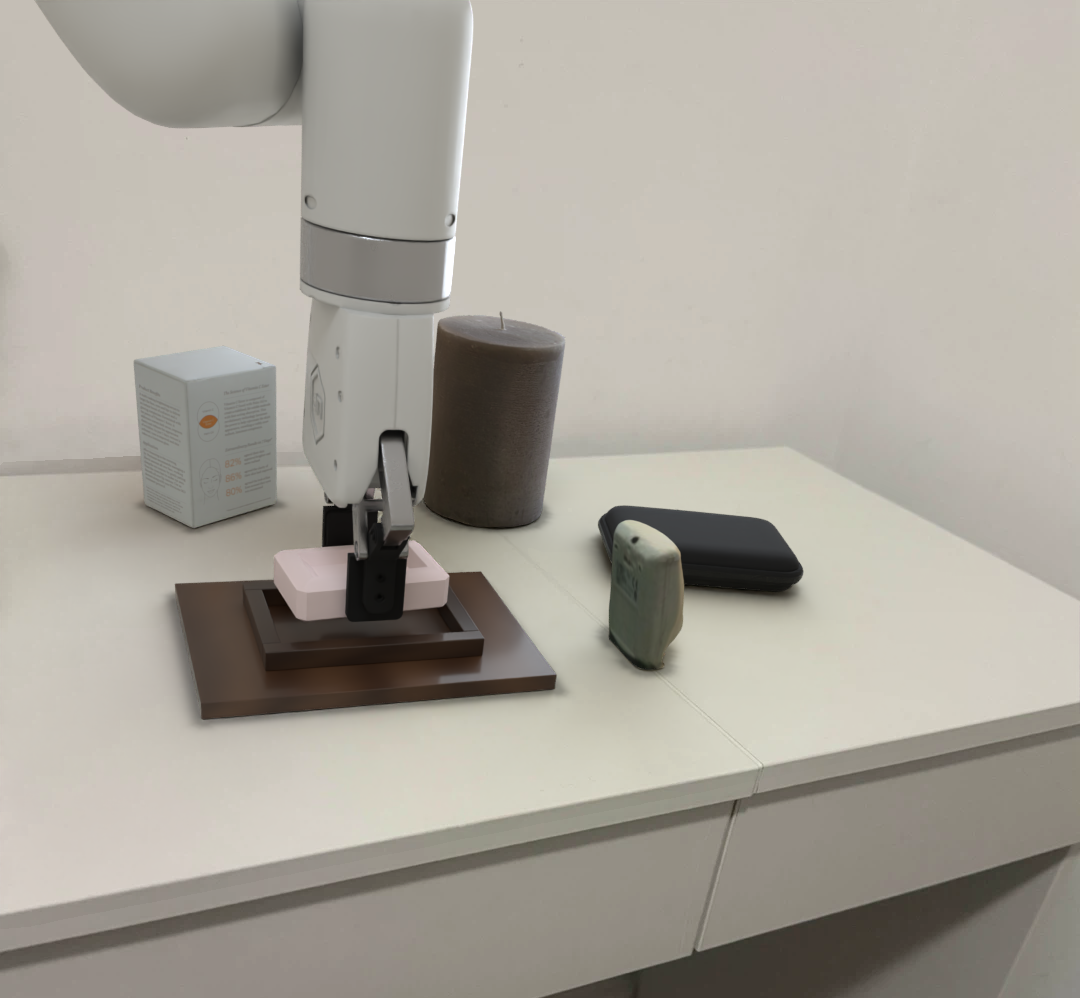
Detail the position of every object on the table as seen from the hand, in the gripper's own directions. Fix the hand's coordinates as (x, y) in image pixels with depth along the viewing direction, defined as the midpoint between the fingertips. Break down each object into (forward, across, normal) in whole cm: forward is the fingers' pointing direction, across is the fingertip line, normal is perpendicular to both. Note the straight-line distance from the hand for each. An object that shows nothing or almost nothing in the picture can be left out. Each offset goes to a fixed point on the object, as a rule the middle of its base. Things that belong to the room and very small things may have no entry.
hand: (360, 589), depth 62 cm
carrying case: (+4, -9, +28) cm, 30 cm away
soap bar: (+1, 0, 0) cm, 1 cm away
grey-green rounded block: (+4, +3, +17) cm, 18 cm away
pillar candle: (+4, -21, +15) cm, 26 cm away
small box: (+4, -22, -6) cm, 23 cm away
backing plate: (+4, 0, 0) cm, 4 cm away
